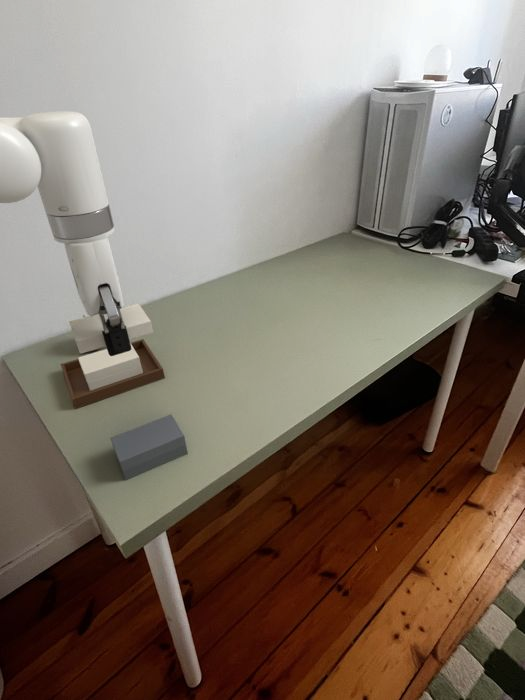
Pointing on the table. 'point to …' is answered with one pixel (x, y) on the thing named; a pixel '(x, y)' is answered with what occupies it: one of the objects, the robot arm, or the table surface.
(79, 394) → the book tray
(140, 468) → the grey book lower
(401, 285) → the table surface
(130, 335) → the white book
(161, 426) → the grey book upper
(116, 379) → the white book lower
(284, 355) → the table surface
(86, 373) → the white book upper
